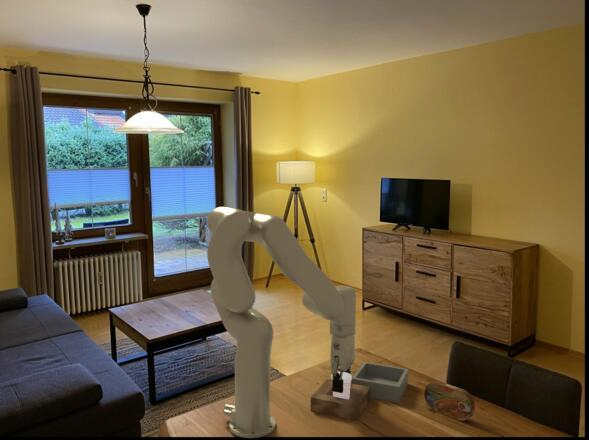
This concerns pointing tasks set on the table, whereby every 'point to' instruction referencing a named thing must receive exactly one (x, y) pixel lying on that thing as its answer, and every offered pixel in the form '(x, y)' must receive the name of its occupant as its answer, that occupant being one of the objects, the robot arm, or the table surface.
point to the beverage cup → (344, 386)
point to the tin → (449, 400)
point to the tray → (382, 380)
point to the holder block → (340, 401)
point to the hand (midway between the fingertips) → (341, 386)
